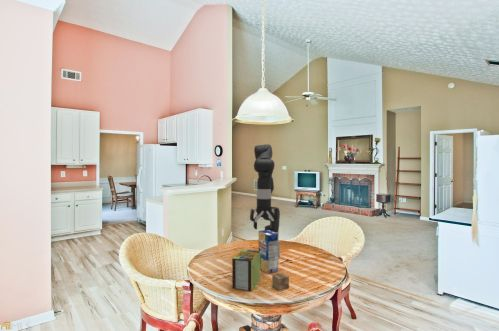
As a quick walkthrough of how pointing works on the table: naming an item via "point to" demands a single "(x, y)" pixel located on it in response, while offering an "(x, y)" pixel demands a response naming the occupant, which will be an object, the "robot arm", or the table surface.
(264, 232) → the beverage box
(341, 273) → the table surface
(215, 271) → the table surface
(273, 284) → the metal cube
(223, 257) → the table surface
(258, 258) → the protein box
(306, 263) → the table surface
